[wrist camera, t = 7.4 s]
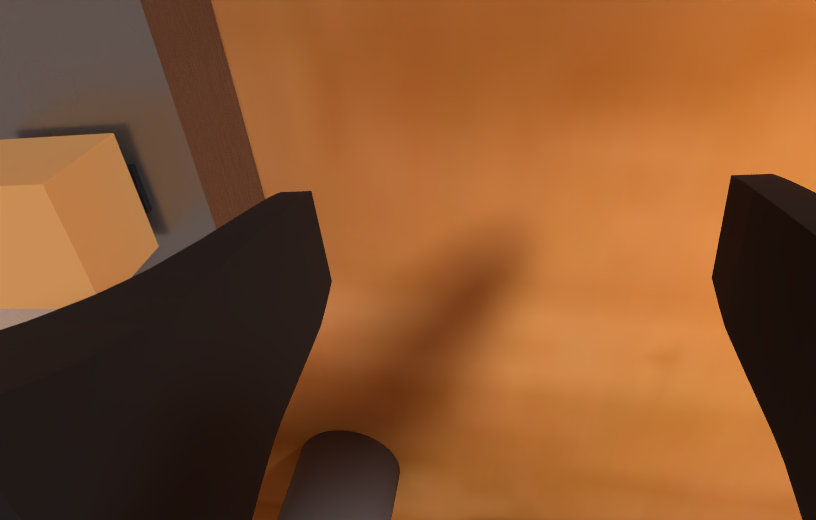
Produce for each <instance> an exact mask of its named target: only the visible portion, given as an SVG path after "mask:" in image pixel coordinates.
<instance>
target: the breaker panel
mask: <svg viewBox="0 0 816 520" xmlns="http://www.w3.org/2000/svg"><path fill="white" fill-rule="evenodd" d="M104 133H114V135H115V138H116V140H117V143H118V145H119V148H120V150H121V153H122V155H123V158H124V160H125V163H126V165H127V168H128V170H129V173H130V175H131V178H132V180H133V183H134V185H135V188H136V190H137V193H138V195H139V198H140V200H141V203H142V205H143V208H144V210H145V213H146V216H147V218H148V221H149V223H150V226H151V228H152V231H153V233H154V236H155V238H156V241H157V243H158V246H159V247H158V248H157V249H156V250H155V251H154V253H153V254H152V255H151V256H150V257H149V258H148V259H147V260H146V262H145V263H144V264H143V265H142V266H141V267H140V268H139V269H138V271H137V272H136V273H135V274H134V275H133V276H132V277H134V276H136V275H138V274H140V273H142V272H144V271H145V270H147V269H149V268H151V267H153V266H155V265H157V264H158V263H160V262H162V261H164V260H165V259H167V258H169V257H171V256H172V255H174V254H176V253H178V252H179V251H181V250H183V249H184V248H186V247H188V246H190V245H191V244H193V243H195V242H197V241H198V240H200V239H202V238H203V237H205V236H207V235H208V234H210V233H211V232H213V231H215V230H216V229H218V228H219V227H221V226H223V225H224V224H226V223H227V222H229V221H231V220H232V219H234V218H235V217H237V216H239V215H240V214H242V213H243V212H245V211H247V210H248V209H250V208H252V207H253V206H255V205H257V204H258V203H260V202H262V201H263V200H265V198H264V194H263V191H262V187H261V183H260V180H259V176H258V172H257V169H256V165H255V161H254V158H253V154H252V150H251V147H250V143H249V139H248V136H247V132H246V129H245V125H244V121H243V118H242V114H241V110H240V107H239V103H238V99H237V96H236V92H235V88H234V85H233V81H232V77H231V74H230V70H229V67H228V63H227V59H226V56H225V52H224V48H223V45H222V41H221V37H220V34H219V30H218V26H217V23H216V19H215V15H214V12H213V8H212V5H211V1H210V0H0V140H3V139H20V138H37V137H54V136H71V135H87V134H104ZM132 277H131V278H132ZM55 310H57V309H0V330H2V329H5V328H8V327H11V326H14V325H17V324H20V323H23V322H26V321H29V320H31V319H34V318H37V317H39V316H42V315H44V314H47V313H50V312H52V311H55Z"/></svg>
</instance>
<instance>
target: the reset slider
mask: <svg viewBox="0 0 816 520" xmlns="http://www.w3.org/2000/svg"><path fill="white" fill-rule="evenodd" d="M158 247H159V246H158V243H157V241H156V238H155V236H154V233H153V231H152V228H151V226H150V223H149V221H148V218H147V216H146V213H145V210H144V208H143V205H142V203H141V200H140V198H139V195H138V193H137V190H136V188H135V185H134V183H133V180H132V178H131V175H130V173H129V170H128V168H127V165H126V163H125V160H124V158H123V155H122V153H121V150H120V148H119V145H118V143H117V140H116V138H115V135H114V133H104V134H87V135H71V136H54V137H37V138H20V139H3V140H0V309H60V308H62V307H65V306H67V305H70V304H73V303H75V302H78V301H80V300H83V299H85V298H88V297H90V296H93V295H95V294H97V293H100V292H102V291H104V290H106V289H108V288H110V287H113V286H115V285H117V284H119V283H121V282H123V281H125V280H128V279H130V278H131V277H132V276H133V275H134V274H135V273H136V272H137V271H138V269H139V268H140V267H141V266H142V265H143V264H144V263H145V262H146V260H147V259H148V258H149V257H150V256H151V255H152V254H153V253H154V251H155V250H156V249H157V248H158Z"/></svg>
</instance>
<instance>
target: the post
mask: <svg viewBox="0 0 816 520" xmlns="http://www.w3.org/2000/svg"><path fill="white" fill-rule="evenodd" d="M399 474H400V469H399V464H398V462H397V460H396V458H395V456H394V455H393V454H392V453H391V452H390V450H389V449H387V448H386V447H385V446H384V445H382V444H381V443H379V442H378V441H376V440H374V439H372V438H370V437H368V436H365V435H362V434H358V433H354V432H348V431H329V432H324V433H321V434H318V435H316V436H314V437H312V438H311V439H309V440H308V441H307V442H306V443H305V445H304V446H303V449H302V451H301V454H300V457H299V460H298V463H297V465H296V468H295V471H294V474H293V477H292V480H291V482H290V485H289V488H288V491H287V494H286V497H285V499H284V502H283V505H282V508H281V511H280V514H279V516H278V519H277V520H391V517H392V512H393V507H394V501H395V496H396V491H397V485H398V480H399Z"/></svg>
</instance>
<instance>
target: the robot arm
mask: <svg viewBox="0 0 816 520" xmlns="http://www.w3.org/2000/svg"><path fill="white" fill-rule="evenodd" d="M712 280H713V284H714V288H715V292H716V296H717V300H718V304H719V308H720V311H721V315H722V318H723V322H724V325H725V328H726V330H727V333H728V335H729V337H730V340H731V342H732V344H733V346H734V349H735V351H736V353H737V356H738V358H739V360H740V362H741V365H742V367H743V369H744V371H745V373H746V376H747V378H748V380H749V382H750V384H751V387H752V389H753V391H754V393H755V395H756V398H757V400H758V402H759V404H760V406H761V409H762V411H763V413H764V415H765V417H766V420H767V422H768V424H769V426H770V429H771V431H772V433H773V435H774V437H775V440H776V443H777V445H778V448H779V450H780V453H781V455H782V458H783V460H784V463H785V466H786V469H787V472H788V475H789V478H790V482H791V485H792V488H793V491H794V494H795V497H796V501H797V504H798V507H799V510H800V513H801V516H802V520H816V193H815V192H813V191H811V190H809V189H807V188H804V187H802V186H800V185H798V184H796V183H794V182H792V181H789V180H787V179H785V178H782V177H780V176H777V175H774V174H759V175H732V176H731V180H730V185H729V190H728V195H727V201H726V206H725V211H724V217H723V222H722V227H721V232H720V238H719V243H718V248H717V254H716V259H715V264H714V269H713V275H712ZM331 282H332V280H331V276H330V271H329V267H328V262H327V258H326V254H325V249H324V245H323V241H322V236H321V232H320V227H319V223H318V219H317V214H316V210H315V205H314V201H313V197H312V192H311V191H302V192H280V193H278V194H275V195H273V196H271V197H269V198H267V199H265V200H263V201H262V202H260V203H258V204H257V205H255V206H253V207H252V208H250V209H248V210H247V211H245V212H243V213H242V214H240V215H239V216H237V217H235V218H234V219H232V220H231V221H229V222H227V223H226V224H224V225H223V226H221V227H219V228H218V229H216V230H215V231H213V232H211V233H210V234H208V235H207V236H205V237H203V238H202V239H200V240H198V241H197V242H195V243H193V244H191V245H190V246H188V247H186V248H184V249H183V250H181V251H179V252H178V253H176V254H174V255H172V256H171V257H169V258H167V259H165V260H164V261H162V262H160V263H158V264H157V265H155V266H153V267H151V268H149V269H147V270H145V271H144V272H142V273H140V274H138V275H136V276H134V277H132V278H130V279H128V280H125V281H123V282H121V283H119V284H117V285H115V286H113V287H110V288H108V289H106V290H104V291H102V292H100V293H97V294H95V295H93V296H90V297H88V298H85V299H83V300H80V301H78V302H75V303H73V304H70V305H67V306H65V307H62V308H60V309H57V310H55V311H52V312H50V313H47V314H44V315H42V316H39V317H37V318H34V319H31V320H29V321H26V322H23V323H20V324H17V325H14V326H11V327H8V328H5V329H2V330H0V520H252V517H253V514H254V510H255V506H256V502H257V498H258V494H259V491H260V487H261V484H262V480H263V477H264V473H265V470H266V466H267V463H268V459H269V456H270V453H271V449H272V446H273V442H274V439H275V437H276V434H277V431H278V428H279V426H280V423H281V420H282V418H283V415H284V413H285V411H286V408H287V406H288V403H289V401H290V399H291V396H292V394H293V392H294V389H295V387H296V384H297V382H298V380H299V377H300V375H301V373H302V370H303V368H304V365H305V363H306V361H307V358H308V356H309V353H310V351H311V349H312V346H313V344H314V341H315V339H316V336H317V334H318V331H319V329H320V326H321V323H322V319H323V316H324V312H325V308H326V304H327V300H328V295H329V291H330V286H331Z"/></svg>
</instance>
